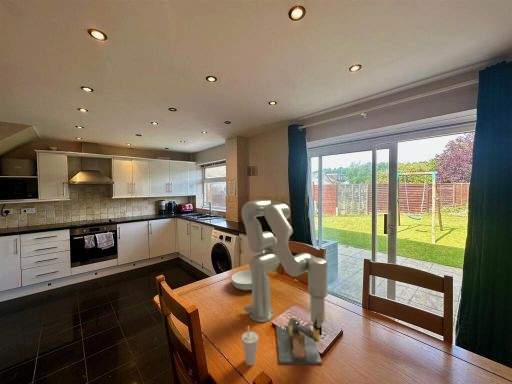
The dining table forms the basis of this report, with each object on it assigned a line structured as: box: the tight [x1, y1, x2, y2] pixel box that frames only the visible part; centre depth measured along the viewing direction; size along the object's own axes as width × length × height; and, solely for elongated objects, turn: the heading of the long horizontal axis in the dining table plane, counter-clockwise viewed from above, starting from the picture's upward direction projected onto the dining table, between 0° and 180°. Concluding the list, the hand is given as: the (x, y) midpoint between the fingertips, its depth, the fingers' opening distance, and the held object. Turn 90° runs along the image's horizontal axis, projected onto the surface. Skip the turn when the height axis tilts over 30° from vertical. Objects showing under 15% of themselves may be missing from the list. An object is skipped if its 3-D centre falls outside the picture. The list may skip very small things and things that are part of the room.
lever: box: [292, 319, 320, 343], centre depth 85 cm, size 12×3×5 cm, turn 43°
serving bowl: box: [230, 269, 252, 291], centre depth 140 cm, size 21×21×7 cm
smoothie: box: [241, 325, 259, 366], centre depth 80 cm, size 6×6×14 cm
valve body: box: [275, 317, 323, 365], centre depth 89 cm, size 16×20×6 cm
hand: (317, 333), depth 85 cm, fingers closed
